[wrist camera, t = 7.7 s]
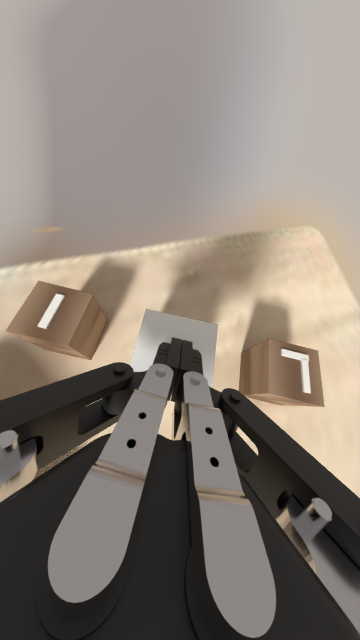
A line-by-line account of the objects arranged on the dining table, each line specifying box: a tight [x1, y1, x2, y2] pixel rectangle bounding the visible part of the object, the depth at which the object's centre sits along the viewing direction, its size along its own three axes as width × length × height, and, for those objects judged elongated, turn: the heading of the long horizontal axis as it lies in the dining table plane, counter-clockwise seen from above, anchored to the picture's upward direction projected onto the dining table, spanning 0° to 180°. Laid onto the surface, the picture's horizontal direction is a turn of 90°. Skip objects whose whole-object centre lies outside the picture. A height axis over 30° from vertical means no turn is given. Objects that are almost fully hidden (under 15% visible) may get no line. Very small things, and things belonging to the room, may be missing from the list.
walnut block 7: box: [239, 338, 324, 407], centre depth 19 cm, size 5×5×6 cm
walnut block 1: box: [6, 281, 107, 360], centre depth 18 cm, size 5×5×6 cm
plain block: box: [130, 309, 218, 399], centre depth 17 cm, size 6×6×8 cm
